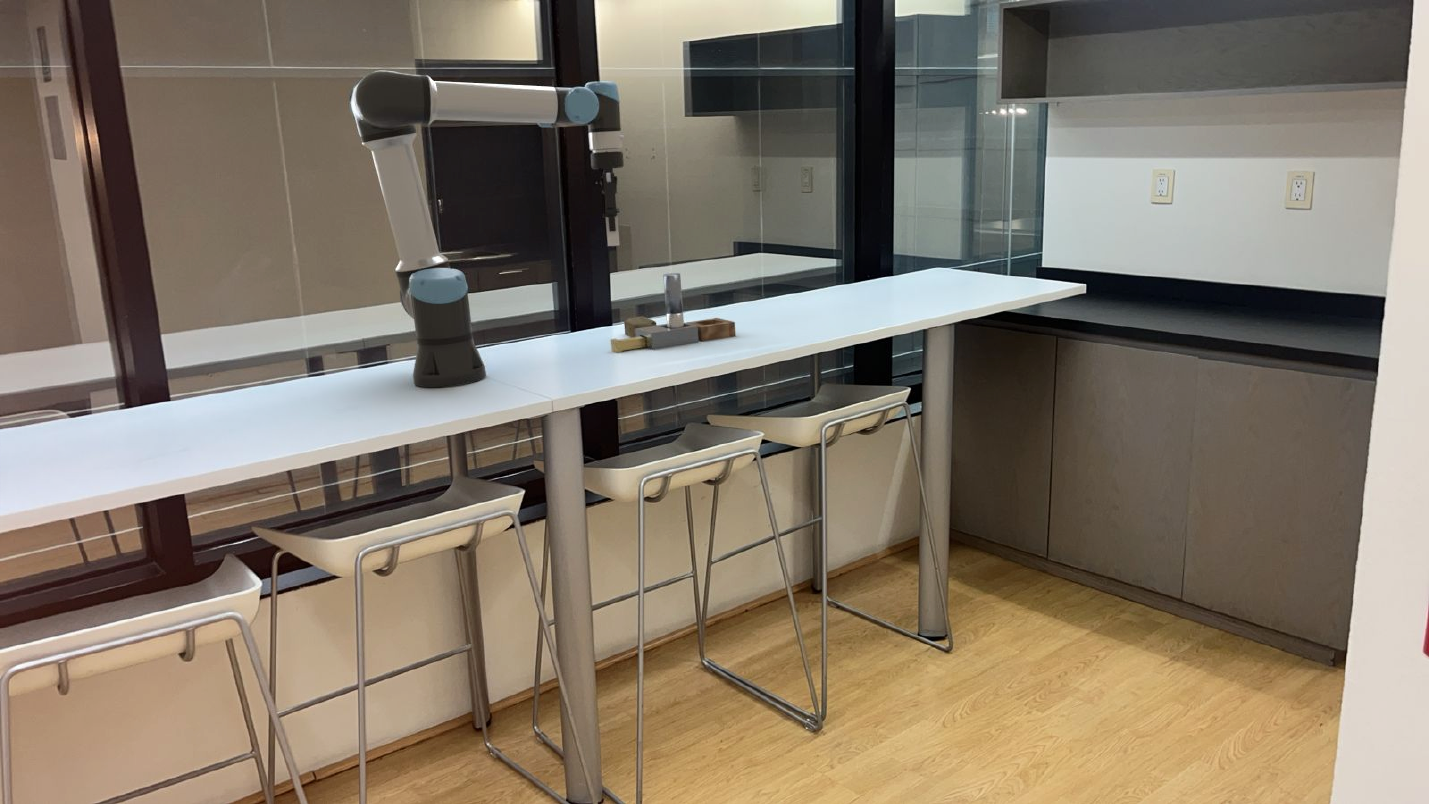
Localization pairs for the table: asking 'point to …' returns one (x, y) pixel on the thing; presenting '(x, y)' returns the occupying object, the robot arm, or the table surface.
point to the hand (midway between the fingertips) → (613, 243)
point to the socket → (668, 335)
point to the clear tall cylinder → (673, 300)
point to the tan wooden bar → (628, 343)
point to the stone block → (637, 325)
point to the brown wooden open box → (714, 329)
